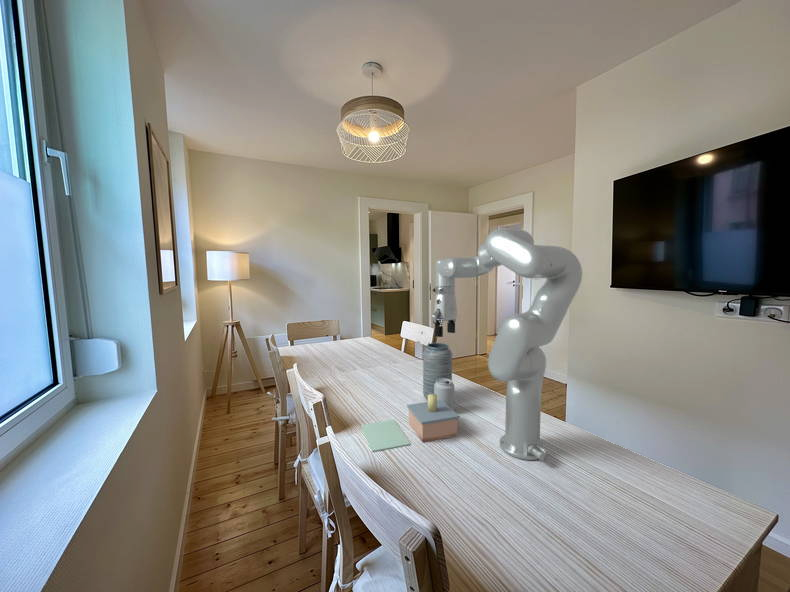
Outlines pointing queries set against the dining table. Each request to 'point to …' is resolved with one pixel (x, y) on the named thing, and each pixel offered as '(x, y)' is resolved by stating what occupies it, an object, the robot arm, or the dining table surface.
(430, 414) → the lid
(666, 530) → the dining table surface
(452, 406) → the can
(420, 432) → the salmon open box
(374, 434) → the mat
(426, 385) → the vase
